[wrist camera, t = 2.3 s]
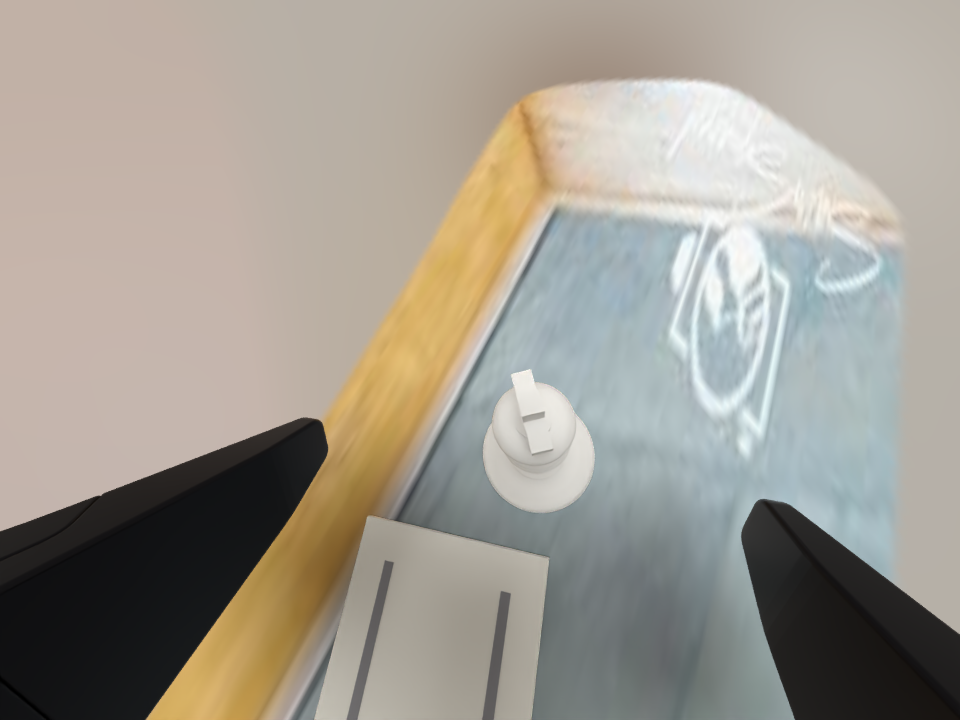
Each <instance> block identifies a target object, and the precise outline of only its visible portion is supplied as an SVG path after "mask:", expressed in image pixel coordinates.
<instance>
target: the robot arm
mask: <svg viewBox="0 0 960 720" xmlns="http://www.w3.org/2000/svg"><path fill="white" fill-rule="evenodd" d="M327 453H328V444H327V440H326V435H325V431H324V427H323V424H322V422H321V421H320V420H317V419H312V418H300V419H297V420H295V421H292V422H290V423H287V424H284V425H282V426H279V427H276V428H274V429H271V430H269V431H266V432H263V433H261V434H258V435H256V436H253V437H250V438H248V439H245V440H243V441H240V442H237V443H234V444H232V445H229V446H227V447H224V448H221V449H219V450H216V451H213V452H211V453H208V454H206V455H203V456H200V457H198V458H195V459H192V460H190V461H187V462H185V463H182V464H180V465H177V466H174V467H172V468H169V469H166V470H164V471H161V472H159V473H156V474H153V475H151V476H148V477H145V478H143V479H141V480H137V481H135V482H132V483H130V484H127V485H124V486H122V487H119V488H116V489H114V490H111V491H109V492H106V493H104V494H102V496H95V497H93V498H90V499H88V500H85V501H82V502H80V503H77V504H74V505H72V506H69V507H66V508H64V509H61V510H58V511H56V512H53V513H50V514H47V515H45V516H42V517H39V518H37V519H34V520H31V521H29V522H26V523H23V524H20V525H17V526H14V527H12V528H9V529H6V530H3V531H0V720H146V718H147V717H148V716H149V714H150V713H151V712H152V710H153V709H154V707H155V706H156V705H157V703H158V702H159V700H160V699H161V698H162V696H163V695H164V693H165V692H166V691H167V689H168V688H169V686H170V685H171V684H172V682H173V681H174V679H175V678H176V677H177V675H178V674H179V672H180V671H181V670H182V668H183V667H184V665H185V664H186V663H187V661H188V660H189V659H190V657H191V656H192V654H193V653H194V652H195V650H196V649H197V647H198V646H199V645H200V643H201V642H202V640H203V639H204V638H205V636H206V635H207V633H208V632H209V631H210V629H211V628H212V626H213V625H214V624H215V622H216V621H217V619H218V618H219V617H220V615H221V614H222V612H223V611H224V610H225V608H226V607H227V606H228V604H229V603H230V601H231V600H232V599H233V597H234V596H235V594H236V593H237V592H238V590H239V589H240V587H241V586H242V585H243V583H244V582H245V580H246V579H247V578H248V576H249V575H250V573H251V572H252V571H253V569H254V568H255V566H256V565H257V564H258V562H259V561H260V559H261V558H262V557H263V555H264V554H265V553H266V551H267V550H268V548H269V547H270V546H271V544H272V543H273V541H274V540H275V539H276V537H277V536H278V534H279V533H280V532H281V530H282V529H283V527H284V526H285V525H286V523H287V522H288V520H289V519H290V517H291V516H292V514H293V513H294V511H295V509H296V508H297V506H298V504H299V503H300V501H301V499H302V498H303V496H304V494H305V493H306V491H307V489H308V487H309V486H310V484H311V482H312V481H313V479H314V477H315V476H316V474H317V472H318V470H319V469H320V467H321V465H322V464H323V462H324V460H325V458H326V456H327ZM741 539H742V545H743V549H744V553H745V557H746V561H747V565H748V569H749V573H750V577H751V581H752V586H753V590H754V594H755V598H756V602H757V606H758V610H759V614H760V618H761V622H762V625H763V629H764V632H765V636H766V639H767V642H768V645H769V648H770V651H771V653H772V656H773V659H774V662H775V665H776V668H777V670H778V673H779V676H780V679H781V682H782V684H783V687H784V690H785V693H786V696H787V698H788V701H789V704H790V707H791V710H792V712H793V715H794V718H795V720H960V634H958V633H957V632H956V631H954V630H953V629H952V628H950V627H949V626H948V625H947V624H945V623H944V622H943V621H941V620H940V619H938V618H937V617H936V616H935V615H933V614H932V613H931V612H929V611H928V610H927V609H926V608H924V607H923V606H922V605H920V604H919V603H918V602H916V601H915V600H914V599H913V598H911V597H910V596H909V595H907V594H906V593H905V592H903V591H902V590H901V589H899V588H898V587H897V586H895V585H894V584H893V583H892V582H890V581H889V580H888V579H886V578H885V577H884V576H882V575H881V574H880V573H878V572H877V571H876V570H875V569H873V568H872V567H871V566H869V565H868V564H867V563H865V562H864V561H863V560H861V559H860V558H859V557H858V556H856V555H855V554H854V553H852V552H851V551H850V550H848V549H847V548H846V547H844V546H843V545H842V544H840V543H839V542H838V541H837V540H835V539H834V538H833V537H831V536H830V535H829V534H827V533H826V532H825V531H823V530H822V529H821V528H820V527H818V526H817V525H816V524H814V523H813V522H812V521H810V520H809V519H808V518H806V517H805V516H804V515H803V514H801V513H800V512H799V511H797V510H796V509H795V508H793V507H792V506H790V505H789V504H787V503H784V502H779V501H773V500H767V499H760V500H758V501H757V502H756V503H755V504H754V506H753V508H752V510H751V512H750V514H749V516H748V518H747V520H746V522H745V524H744V526H743V529H742V533H741Z"/></svg>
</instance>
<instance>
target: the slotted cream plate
mask: <svg viewBox="0 0 960 720" xmlns="http://www.w3.org/2000/svg"><path fill="white" fill-rule="evenodd" d="M548 566H549V557H546V556H542V555H538V554H533V553H529V552H525V551H521V550H516V549H512V548H508V547H504V546H500V545H495V544H491V543H487V542H483V541H478V540H474V539H470V538H466V537H461V536H457V535H453V534H449V533H445V532H440V531H436V530H432V529H428V528H423V527H419V526H415V525H411V524H407V523H402V522H398V521H394V520H390V519H385V518H381V517H377V516H373V515H370V516H368V517H367V520H366V524H365V528H364V532H363V536H362V539H361V543H360V547H359V551H358V555H357V558H356V562H355V566H354V570H353V574H352V577H351V581H350V585H349V589H348V592H347V596H346V600H345V604H344V608H343V611H342V615H341V619H340V623H339V627H338V630H337V634H336V638H335V642H334V646H333V649H332V653H331V657H330V661H329V665H328V668H327V672H326V676H325V680H324V684H323V687H322V691H321V695H320V699H319V703H318V706H317V710H316V714H315V718H314V720H531V719H532V710H533V701H534V692H535V683H536V674H537V665H538V656H539V647H540V638H541V629H542V620H543V611H544V602H545V593H546V584H547V575H548Z"/></svg>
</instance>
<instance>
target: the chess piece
mask: <svg viewBox="0 0 960 720" xmlns="http://www.w3.org/2000/svg"><path fill="white" fill-rule="evenodd" d="M511 377H512V380H513V384H514V387H513V388H511V389H510V390H508V391H507V392H506V393H505V394H504V395H503V396H502V397H501V398H500V399H499V401H498V403H497V404H496V407H495V409H494V412H493V417H492V423H491V424H490V426H489V428H488V430H487V433H486V436H485V439H484V444H483V461H484V467H485V471H486V474H487V476H488V479H489V481H490V483H491V484H492V486H493V487H494V489H495V490H496V491H497V493H498V494H499V495H500V496H501V497H502V498H503V499H504V500H506V501H507V502H508V503H510V504H511V505H513V506H515V507H517V508H519V509H522V510H524V511H528V512H533V513H549V512H554V511H558V510H561V509H563V508H565V507H567V506H569V505H570V504H572V503H573V502H575V501H576V500H577V499H578V498H579V497H580V496H581V495H582V494H583V492H584V491H585V490H586V488H587V486H588V485H589V483H590V480H591V478H592V475H593V471H594V465H595V453H594V446H593V442H592V438H591V436H590V433H589V431H588V429H587V427H586V426H585V424H584V423H583V421H582V420H581V419H580V418H579V417H578V416H577V415H576V414H575V413H574V410H573V408H572V406H571V404H570V402H569V401H568V399H567V398H566V397H565V396H564V395H563V394H562V393H561V392H560V391H559V390H557V389H556V388H554V387H552V386H550V385H547V384H544V383H538V382H534V379H533V375H532V372H531V369H530V370H526V371H522V372H518V373H514V374H511Z"/></svg>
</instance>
